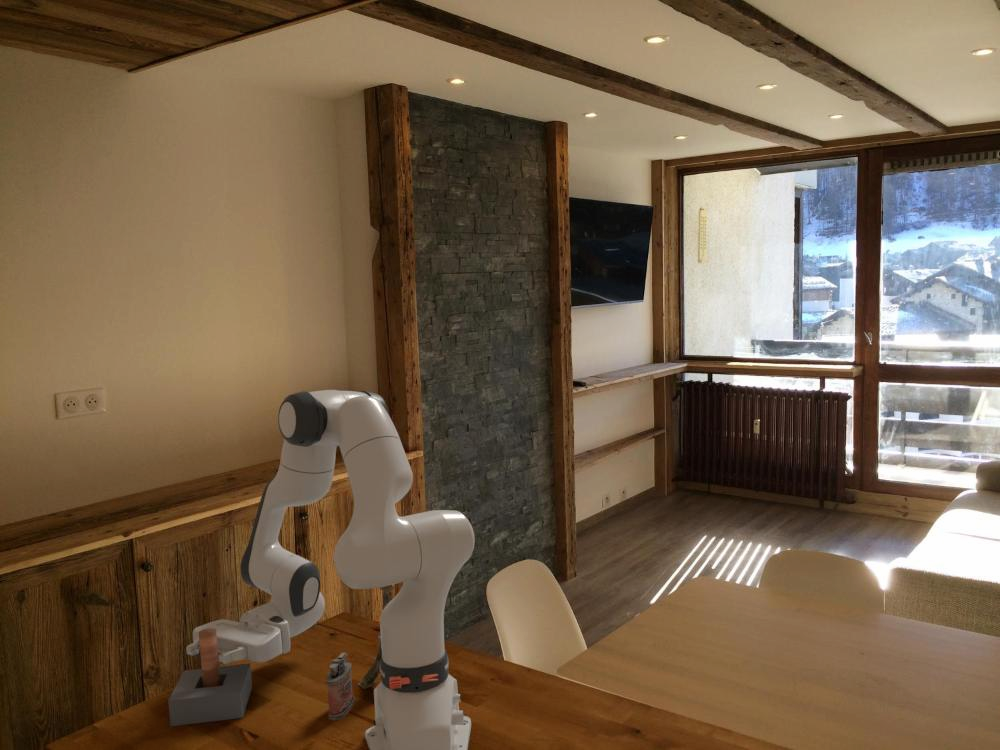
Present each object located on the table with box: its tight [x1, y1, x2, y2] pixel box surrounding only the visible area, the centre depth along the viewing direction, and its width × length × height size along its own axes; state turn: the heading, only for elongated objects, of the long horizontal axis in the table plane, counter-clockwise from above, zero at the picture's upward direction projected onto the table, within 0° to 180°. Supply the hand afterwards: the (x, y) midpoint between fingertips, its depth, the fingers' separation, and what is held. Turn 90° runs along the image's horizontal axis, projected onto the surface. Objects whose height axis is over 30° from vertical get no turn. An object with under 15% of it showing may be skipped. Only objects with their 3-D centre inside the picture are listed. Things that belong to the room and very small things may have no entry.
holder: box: [167, 662, 253, 727], centre depth 164 cm, size 13×13×5 cm
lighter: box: [325, 652, 355, 721], centre depth 160 cm, size 8×3×10 cm, turn 168°
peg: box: [199, 628, 221, 688], centre depth 164 cm, size 3×3×14 cm
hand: (204, 655), depth 163 cm, fingers open, 8 cm apart
